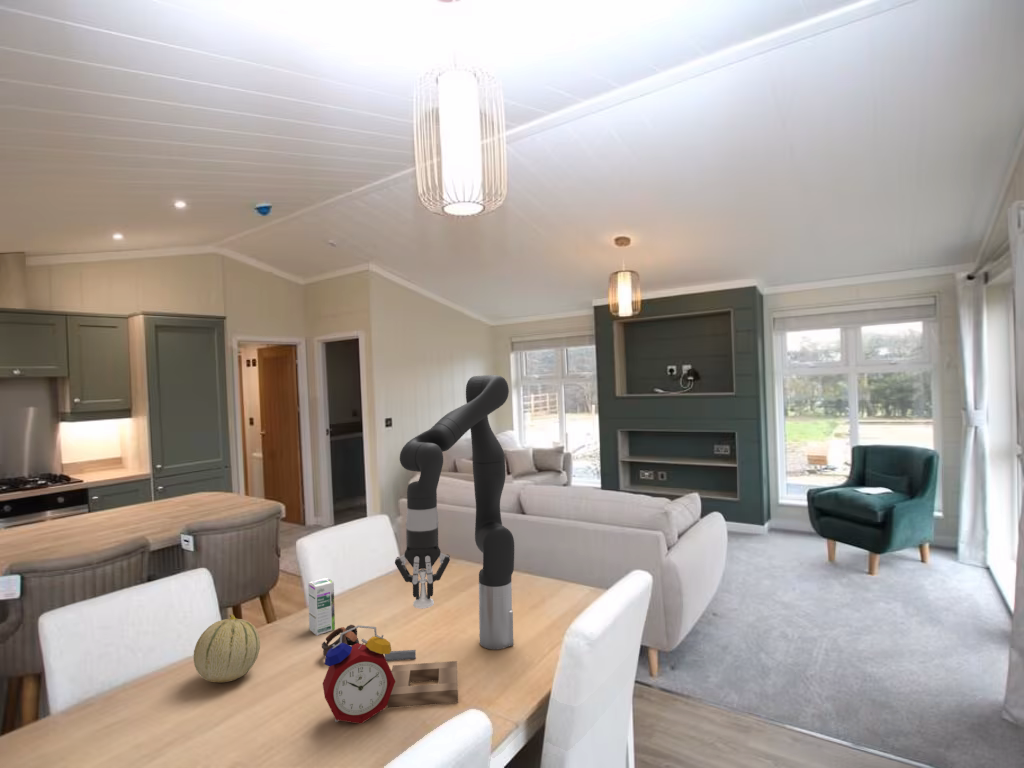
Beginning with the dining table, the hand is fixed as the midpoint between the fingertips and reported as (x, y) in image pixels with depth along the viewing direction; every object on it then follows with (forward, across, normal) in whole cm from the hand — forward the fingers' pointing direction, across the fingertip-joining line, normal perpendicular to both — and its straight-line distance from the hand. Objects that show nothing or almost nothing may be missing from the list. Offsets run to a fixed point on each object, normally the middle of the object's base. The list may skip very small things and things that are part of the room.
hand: (423, 597), depth 130 cm
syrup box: (+22, +32, -36) cm, 53 cm away
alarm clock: (+22, +14, +8) cm, 27 cm away
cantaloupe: (+22, +49, -11) cm, 55 cm away
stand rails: (+22, +7, -10) cm, 25 cm away
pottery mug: (+22, +22, -20) cm, 37 cm away
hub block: (+22, 0, 0) cm, 22 cm away
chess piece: (+2, 0, 0) cm, 2 cm away
